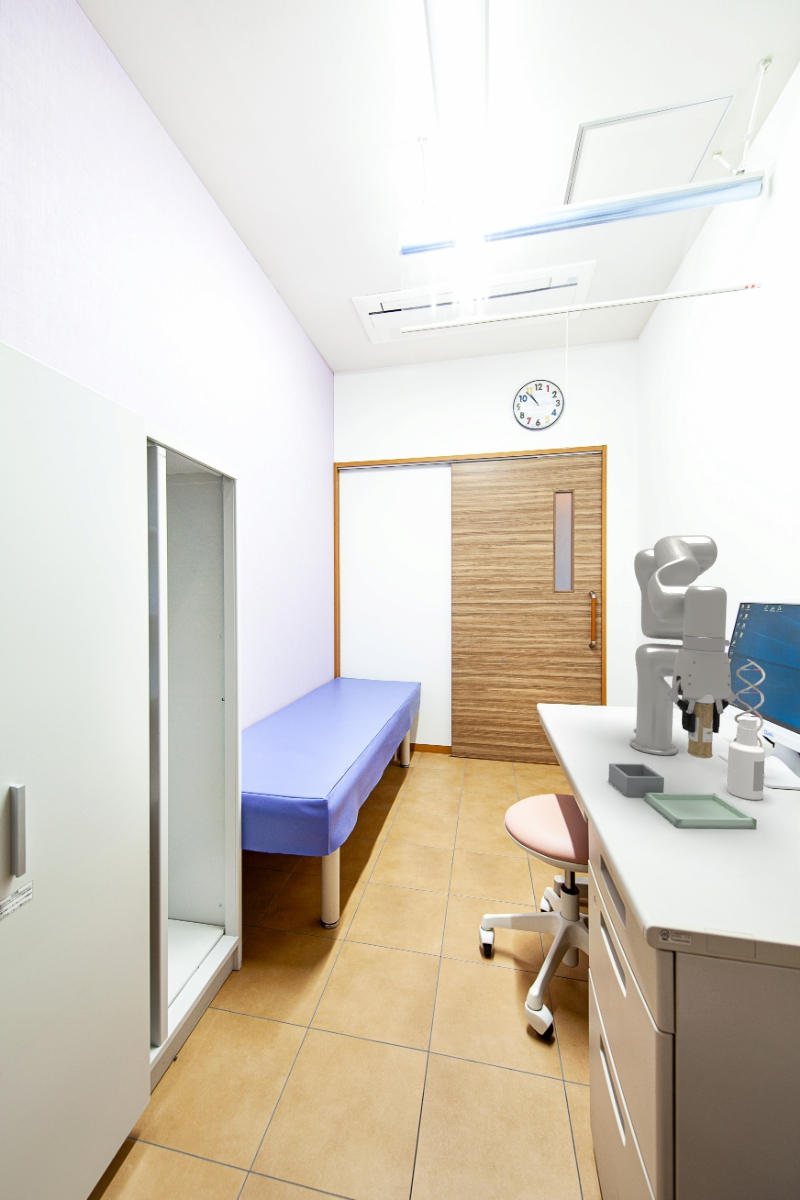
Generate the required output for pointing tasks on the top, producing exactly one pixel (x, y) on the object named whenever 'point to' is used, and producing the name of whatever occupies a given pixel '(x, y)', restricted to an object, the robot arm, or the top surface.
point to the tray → (699, 811)
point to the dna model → (752, 693)
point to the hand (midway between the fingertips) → (700, 730)
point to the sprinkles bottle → (702, 728)
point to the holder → (635, 779)
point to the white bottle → (746, 762)
